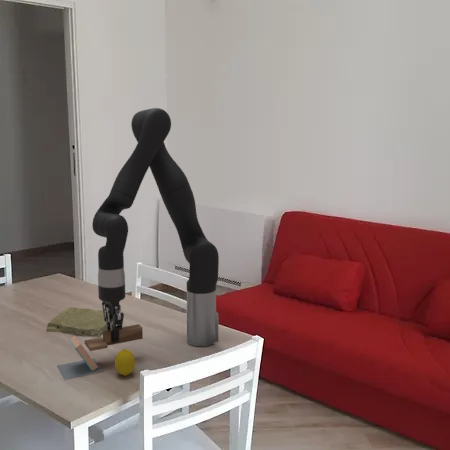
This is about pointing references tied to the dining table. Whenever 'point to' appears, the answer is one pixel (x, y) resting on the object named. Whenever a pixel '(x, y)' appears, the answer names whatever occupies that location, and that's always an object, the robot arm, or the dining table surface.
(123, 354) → the lemon
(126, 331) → the brown long stepped block
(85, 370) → the slate mat
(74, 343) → the pink scouring sponge
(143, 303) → the dining table surface
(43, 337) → the dining table surface
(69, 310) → the olive green stone slab
